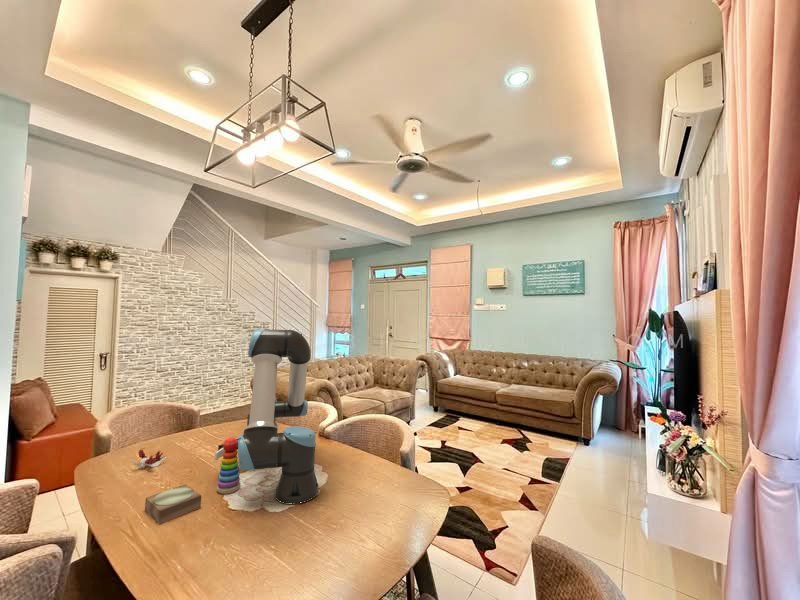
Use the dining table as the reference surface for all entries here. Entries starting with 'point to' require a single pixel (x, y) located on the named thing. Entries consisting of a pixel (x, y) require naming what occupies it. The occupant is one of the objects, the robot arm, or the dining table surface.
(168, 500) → the walnut plinth
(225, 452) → the stacking toy
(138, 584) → the dining table surface
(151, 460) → the figurine
